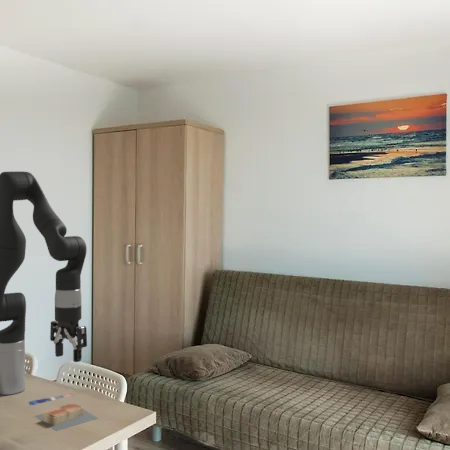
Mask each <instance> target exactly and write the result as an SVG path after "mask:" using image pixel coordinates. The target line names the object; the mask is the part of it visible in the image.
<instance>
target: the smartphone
mask: <svg viewBox="0 0 450 450" xmlns="http://www.w3.org/2000/svg"><path fill="white" fill-rule="evenodd" d="M73 395H74V393H71V392H70V393H69V392H68V393H65V394H60V395H59V394H58V395H55V396H49V397H45V398H39V399H35V400H31V401H27V404H28V405H29V406H30V407H31V406H36V405H39V404H43V403H47V402H51V401H55V400H59V399H63V398H67V397H71V396H73Z"/></svg>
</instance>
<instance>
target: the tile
mask: <svg viewBox="0 0 450 450" xmlns="http://www.w3.org/2000/svg"><path fill="white" fill-rule="evenodd" d="M83 409H84V407H83V406H81V405H78V404H77V403H76V404H75V403H73V402H70V403H67V404H64V405H61V406H58V407H55V408H53V409H52V408H51V409H50V410H47V411H44V412H42V414H43V421H44V422H46V423H49V424H51V425H53V426H55V425H58V424H60V423H63V422H66V421H68V420H71V419H74V418H76V417H79V416H82V415H83ZM43 421H42V422H43ZM44 422H43V423H44ZM46 423H45V424H46Z"/></svg>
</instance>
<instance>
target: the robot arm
mask: <svg viewBox="0 0 450 450" xmlns="http://www.w3.org/2000/svg"><path fill="white" fill-rule="evenodd" d="M26 200H27V201H29V202H30V203H31V204H32V205H33V211H32V221H33V224H34V226H35V228H36V229H37V230H38V232H39V233H40V234H41V236H42V237H43V238H44V240H45V244H46V247H47V250H48V254H49V256H50V257H51V258H52V259H54V260H55V261H58V262H66V261H67V262H66V263H67V264H66V265H65V267H62V268H59V269H57V270H56V272H55V293H54V320H52V321H51V322H50V333H49V334H50V336H49V340H50V342H53V344H54V349H55V352H54V353H55V357H62V356H64V343H63V342H64V340H65V339H66V340H68V342H69V343H70V344H71V345H72V347H73V348H72V349H73V351H72V352H73V353H72V354H73V357H72V358H73V360H72V361H73V362H74V363H78V362H81V360H82V349H84V348H87V346H88V339H87V338H88V336H87V326H85V325H84V326H80V324H79V323H80V322H79V321H81V319H82V291H81V287H82V286H81V283H82V281H81V275H82V271H83V267H84V264H85V259H86V256H87V252H88V251H87V250H88V249H87V244H86V242H85V240H84V239H83V237H81V236H78V235H75V236H74V235H73V236H71V235H70V236H66V234H67V232H68V231H67V227H66V224H64V222H63V221H62V219H60V217H59V215H57V213H56V212H55V211H54V209H53V208H52V207H51V205H50V203H49V201H48V198H46V195H45V193H44V191H43V188H42V187H41V185H40V183H39V182H38V181H37V178H36V177H35V176H34V175H33V174H32V172H29V171H2V172H0V322H10V321H12V322H11V323H10V324H9V325H7V326H6V327H5V328H3V329H0V395H6V396H9V395H14V394H15V395H16V394H19V393H21V392H23V391H25V389H26V356H25V355H26V348H25V347H26V343H25V341H26V340H25V336H26V334H25V333H26V313H27V301H26V296H25V294H23V293H22V292H9V293H7V292H6V289H7V286H8V283H9V282H10V280H11V279H12V278H13V276H14V275H15V273H16V272H17V271H18V270H19V268H21V266H22V264H23V263H24V260H25V258H26V248H27V239H26V235H25V234H24V232H23V229H22V228H21V226H20V225H19V224H18V222H17V220H16V217H15V214H14V202H15V201H26ZM5 292H6V293H5Z"/></svg>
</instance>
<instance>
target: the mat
mask: <svg viewBox="0 0 450 450" xmlns="http://www.w3.org/2000/svg"><path fill="white" fill-rule="evenodd" d="M35 417H36V418H37V419H39V420H40V421H41V422H42V423H43V424H45V425H47V426H49V427H50V428H51V429H52V430H54V431H56V432H57V431H61V430H65V429H67V428H71V427H74V426H77V425H80V424H83V423H88V422H91V421H94V420H98V419H99V417H97V416H96V415H93V414H92V413H90V412H88V411H87V410H85V409H84V408H83V415H82V416H79V417H76V418H74V419H71V420H68V421H66V422H63V423H60V424H58V425H55V426H53V425H51V424H49V423H46V422H44V421H43V413H41V414H38V415H35Z"/></svg>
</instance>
